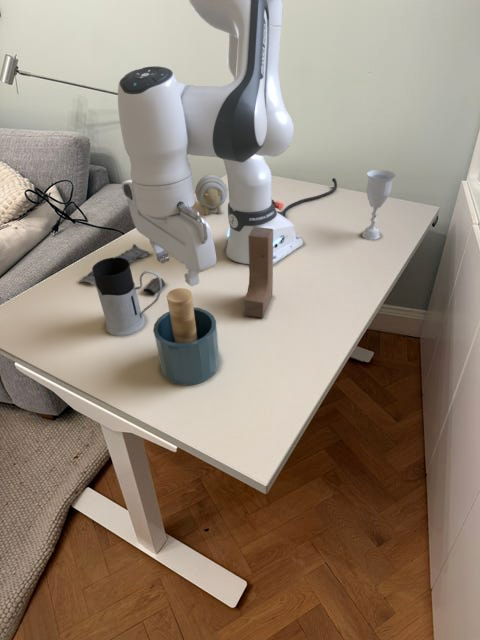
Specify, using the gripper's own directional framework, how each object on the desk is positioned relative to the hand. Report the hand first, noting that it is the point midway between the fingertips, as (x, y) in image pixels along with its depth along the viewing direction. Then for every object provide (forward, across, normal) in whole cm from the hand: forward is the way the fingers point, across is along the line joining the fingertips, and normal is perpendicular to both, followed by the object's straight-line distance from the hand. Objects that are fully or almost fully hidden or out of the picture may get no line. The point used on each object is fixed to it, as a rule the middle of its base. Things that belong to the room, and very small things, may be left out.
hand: (177, 271), depth 74 cm
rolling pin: (+21, 0, +1) cm, 21 cm away
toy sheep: (+22, +58, -47) cm, 78 cm away
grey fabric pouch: (+22, +45, -5) cm, 50 cm away
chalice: (+23, +11, -70) cm, 74 cm away
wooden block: (+22, +6, -23) cm, 32 cm away
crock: (+22, 0, 0) cm, 22 cm away
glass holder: (+22, +19, +2) cm, 29 cm away
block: (+22, +29, -8) cm, 37 cm away
